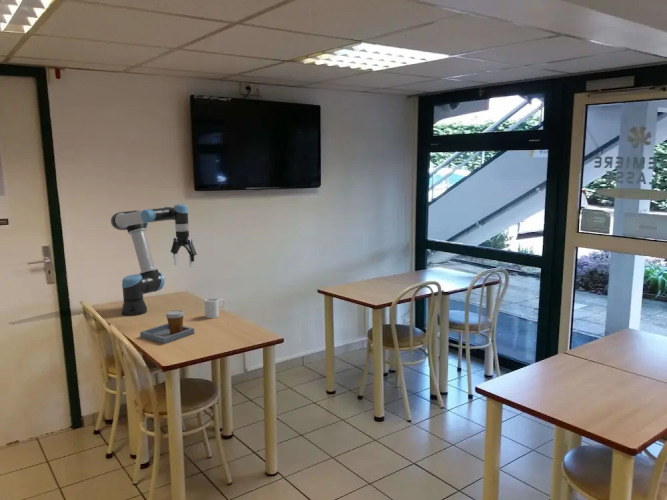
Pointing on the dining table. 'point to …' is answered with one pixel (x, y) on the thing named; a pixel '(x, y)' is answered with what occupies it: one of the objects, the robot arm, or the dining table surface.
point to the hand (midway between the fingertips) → (184, 265)
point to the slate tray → (165, 334)
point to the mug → (212, 307)
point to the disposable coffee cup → (175, 321)
